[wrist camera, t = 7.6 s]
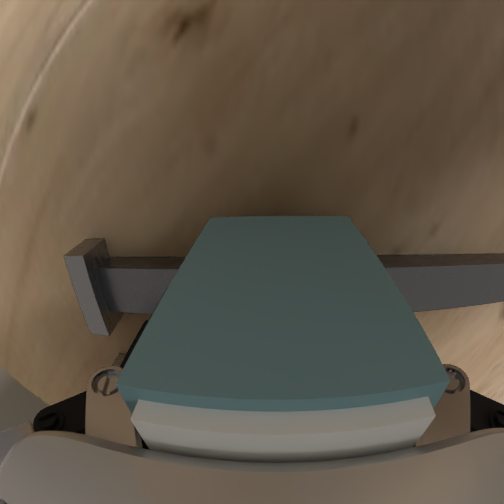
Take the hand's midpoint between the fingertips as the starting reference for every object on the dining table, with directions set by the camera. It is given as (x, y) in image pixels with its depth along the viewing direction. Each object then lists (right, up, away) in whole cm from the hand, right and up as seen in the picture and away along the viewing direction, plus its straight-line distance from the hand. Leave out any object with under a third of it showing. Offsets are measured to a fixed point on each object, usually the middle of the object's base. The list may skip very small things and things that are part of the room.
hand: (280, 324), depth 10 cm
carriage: (0, +1, +3) cm, 3 cm away
